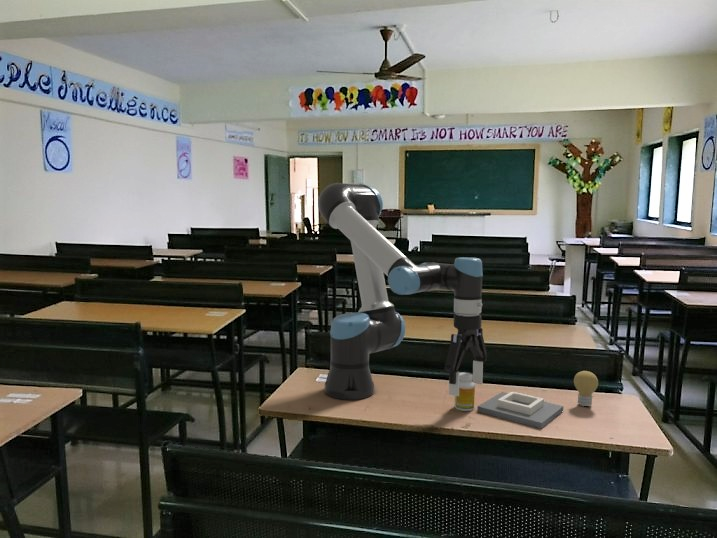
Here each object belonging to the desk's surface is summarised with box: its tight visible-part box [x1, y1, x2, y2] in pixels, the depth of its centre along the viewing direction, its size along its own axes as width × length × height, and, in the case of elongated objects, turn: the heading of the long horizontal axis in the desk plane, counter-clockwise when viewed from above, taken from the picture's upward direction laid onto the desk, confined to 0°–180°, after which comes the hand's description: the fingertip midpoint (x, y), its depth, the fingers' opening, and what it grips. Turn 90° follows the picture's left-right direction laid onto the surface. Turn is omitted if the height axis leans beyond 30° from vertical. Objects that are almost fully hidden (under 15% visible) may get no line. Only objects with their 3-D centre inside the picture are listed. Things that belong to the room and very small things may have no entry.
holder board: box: [476, 391, 564, 430], centre depth 148 cm, size 18×16×4 cm
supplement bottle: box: [454, 371, 476, 412], centre depth 150 cm, size 5×5×10 cm
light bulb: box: [573, 370, 599, 407], centre depth 154 cm, size 6×6×10 cm
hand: (466, 389), depth 150 cm, fingers open, 13 cm apart
